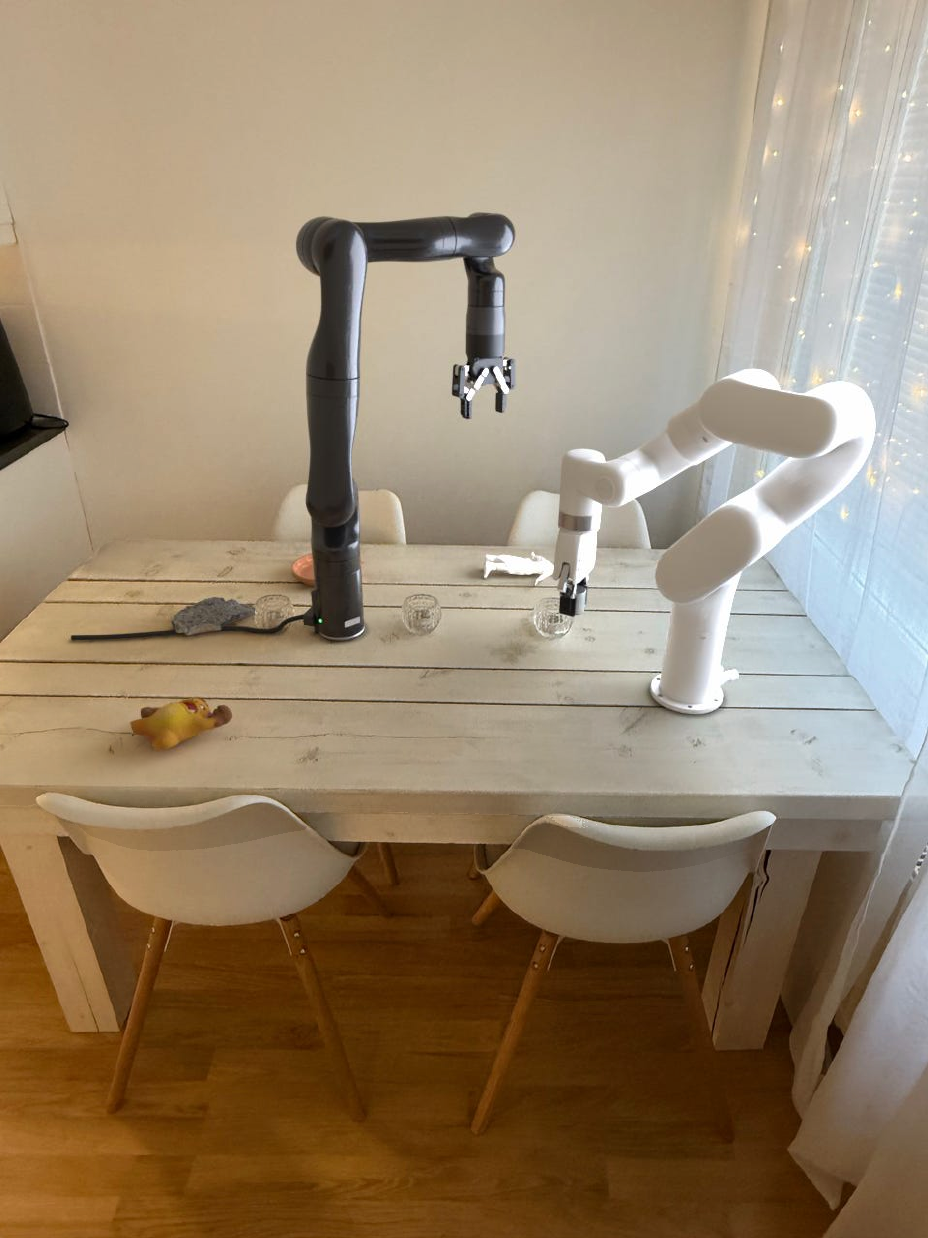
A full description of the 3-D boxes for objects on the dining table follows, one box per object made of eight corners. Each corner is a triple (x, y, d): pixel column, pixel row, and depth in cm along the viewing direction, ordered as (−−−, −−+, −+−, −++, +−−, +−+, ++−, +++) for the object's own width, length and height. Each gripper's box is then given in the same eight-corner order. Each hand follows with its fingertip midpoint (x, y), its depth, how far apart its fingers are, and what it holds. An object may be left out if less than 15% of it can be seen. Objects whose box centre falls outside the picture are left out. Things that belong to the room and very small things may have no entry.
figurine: (483, 589, 181) (563, 599, 182) (486, 568, 179) (567, 578, 180) (482, 559, 197) (556, 568, 198) (485, 539, 194) (560, 548, 195)
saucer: (304, 559, 195) (303, 548, 194) (369, 564, 193) (368, 552, 192) (281, 589, 181) (280, 576, 180) (351, 594, 179) (351, 581, 178)
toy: (124, 709, 134) (215, 682, 140) (135, 746, 135) (224, 717, 142) (132, 722, 124) (229, 692, 131) (144, 761, 125) (239, 730, 132)
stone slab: (156, 626, 166) (154, 613, 164) (223, 596, 177) (221, 584, 176) (194, 646, 159) (192, 633, 158) (261, 614, 171) (259, 601, 169)
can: (574, 617, 153) (575, 596, 151) (555, 610, 156) (557, 589, 153) (589, 610, 156) (590, 589, 153) (570, 602, 158) (571, 582, 156)
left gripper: (468, 336, 148) (467, 424, 156) (526, 329, 156) (522, 413, 164) (443, 330, 153) (443, 416, 161) (501, 323, 161) (498, 406, 169)
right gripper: (577, 501, 155) (571, 588, 163) (540, 530, 142) (536, 622, 150) (615, 508, 152) (606, 596, 160) (581, 538, 139) (574, 632, 147)
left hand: (483, 415), depth 162 cm, fingers open, 8 cm apart
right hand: (572, 608), depth 155 cm, fingers closed on can, 4 cm apart
